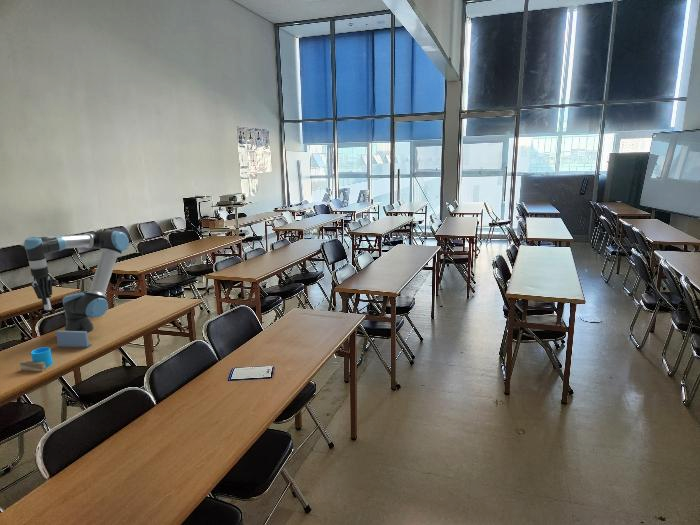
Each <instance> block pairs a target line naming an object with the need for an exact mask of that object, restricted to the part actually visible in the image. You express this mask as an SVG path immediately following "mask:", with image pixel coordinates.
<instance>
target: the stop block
mask: <svg viewBox="0 0 700 525" xmlns="http://www.w3.org/2000/svg"><path fill="white" fill-rule="evenodd" d="M19 365H20V370H21V371H30V372H44V371H45V370H47V367H46V366H45V362H33V361H32V360H31V361H30V360H29V361H27V360H25V361H21V362H19Z"/></svg>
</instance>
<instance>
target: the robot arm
mask: <svg viewBox="0 0 700 525" xmlns="http://www.w3.org/2000/svg"><path fill="white" fill-rule="evenodd" d="M129 243H130V240H129V238H128V236H127V234H126V233H125V232H122V231H118V230H100V231H93V232H92V231H91V232H85V233H83V234H72V235H71V234H70V235H56V236H55V235H53V236H37V237H36V236H30V237H27V238H26V239H25V240H24V242H23V244H24V250H25V252H26V257H27V260H28V264H29V268H30V274H31V276H32V277H33V282H30V286H31V287H32V289H33V291H34V293H35V295H36V298H37V299H38V300H41V301H42V305H43V307H44V311H50V310H52V309H53V308H52V304H51V298H52V295H53V276H49V268H48V263H47V258H46V255H48V254H53V253H56V252H60V251H61V252H62V251H63V250H65V249H75V248H76V249H77V248H86V249H99V250H100V251H101V254H100V258H99V261H98V264H97V266H96V269H95V273H94V276H93V279H92V281H91V284H90V287H89V290H87V291H85V292H75V293H72V294H68V295H65V296H64V297H63V298H62V305H63V310H64V315H65V327H64V331H87V333H89V332H91V331H93V330H94V328H95V327H94V324H93V322H92V321H91V319H92V318H95V319H96V318H100V317H103V315H105V314H106V312H107V310H108V308H109V303H108V301H107V298H108V297H107V295H106V292H107V289H108V285H109V283H110V279H111V277H112V273H113V270H114V268H115V264H116V262H117V259H118V257H120V256H122V252H123V251H125V250H127V249H128V248H129ZM90 318H91V319H90Z"/></svg>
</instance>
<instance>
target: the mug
mask: <svg viewBox="0 0 700 525" xmlns="http://www.w3.org/2000/svg"><path fill="white" fill-rule="evenodd" d="M52 356H53V355H52V351H51V348H50V347H48V346H43V347H38V348H36V349H33V350H32V351H31V352H30V357H31V361H33V362H45V366H46V368H48V366H49V367H51V366H52V365H54V362H53V357H52Z"/></svg>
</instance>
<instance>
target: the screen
mask: <svg viewBox="0 0 700 525" xmlns="http://www.w3.org/2000/svg"><path fill="white" fill-rule="evenodd" d="M55 336H56V341H57V346H58V348H59V347H60V348H81V349H83V348H85V349H87V348H89V347H91V346H93V343H90V340H89V337H88V336H89V335H88V332H87V331H65V330H56V331H55Z"/></svg>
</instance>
